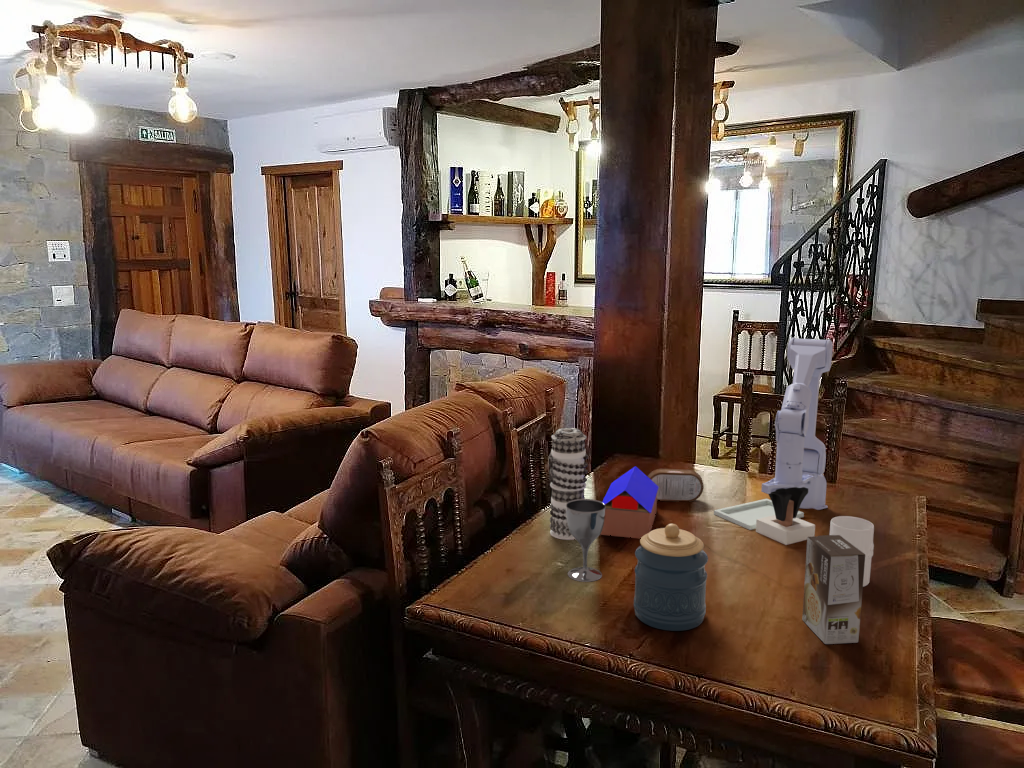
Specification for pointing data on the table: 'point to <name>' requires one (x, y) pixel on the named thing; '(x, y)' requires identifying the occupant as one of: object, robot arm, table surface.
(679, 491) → the tin
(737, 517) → the tray
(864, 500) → the table surface
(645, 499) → the house
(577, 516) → the wine glass
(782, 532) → the cup block
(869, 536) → the mug
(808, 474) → the robot arm
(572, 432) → the decorative candle
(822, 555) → the coffee box
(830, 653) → the table surface
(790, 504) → the pin
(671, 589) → the canister
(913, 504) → the table surface
